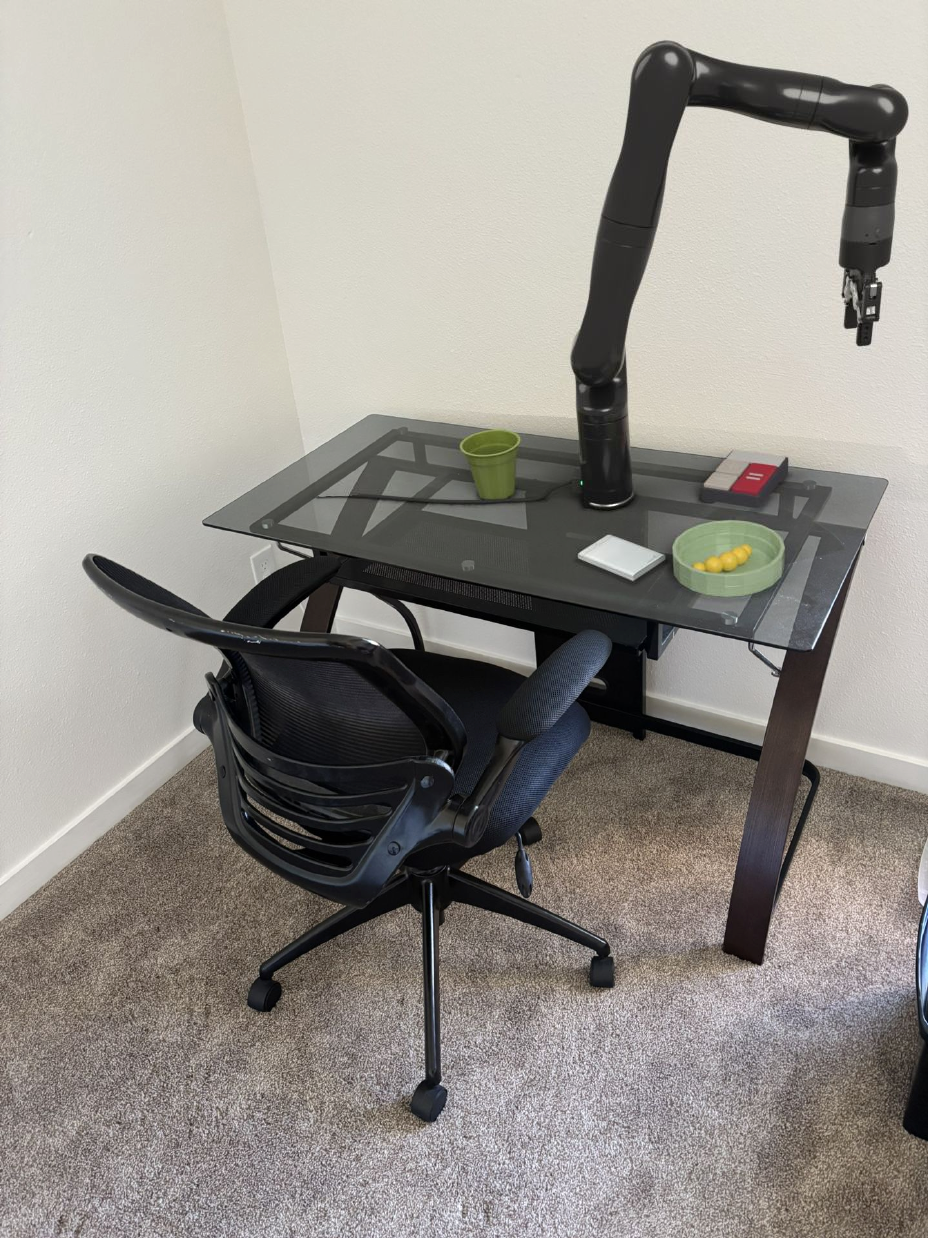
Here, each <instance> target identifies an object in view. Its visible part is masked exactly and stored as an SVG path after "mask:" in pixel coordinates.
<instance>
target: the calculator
mask: <svg viewBox="0 0 928 1238" xmlns="http://www.w3.org/2000/svg"><path fill="white" fill-rule="evenodd" d="M787 476H789V457H788V456H785V455H778V454H771V453H764V452H755V451H747V450H740V449H732V450H731V451H730V452H729V453H728V455H727V456H726V457H725V458H724V459H723V460H722V462H721V463H720V464H719V465H718V466H717V467H716V468H715V470H714V471H713V472H712V473H711V474H710V476H709V477H708V478H707V479H706V480H705V481H704V483H703V484H702V485H701V486H700V501H701V502H703V503H708V504H715V503H720V504H727V505H733V506H740V507H746V508H751V509H759V508H760V507H762V505H763V504H764V503H765V502H766V500H767V499H768V498H769V497H770V496H771V495H772V493H774V491H775V490H776V488H777V487H778V485H779V484H782V483H783V482H784V480H785V479H786V478H787Z"/></svg>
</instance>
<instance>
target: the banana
mask: <svg viewBox="0 0 928 1238" xmlns="http://www.w3.org/2000/svg"><path fill="white" fill-rule="evenodd" d="M751 554H752V548H751V546H749V545H746V544H745V545H742V546H740V547H735V548H733V549H732V550H731V551H730V552H724V553H722V554H721V555H720V556H719V557H716V556H711V557H709V558H707V559H706V561H705V563H704V564H703V563H701V562H696V563H694V564H693V566H692V568H695V569H698V570H702V571H706V572H709V573H720V572H721V571H722V570H723V571H732V570H734V569H735V568H736V567H737V566H738V565H742V564H744V563H745V562H746V561H747V560H748V557H750V556H751Z"/></svg>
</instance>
